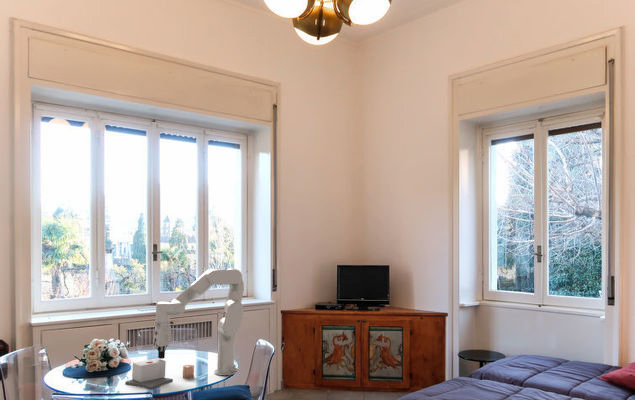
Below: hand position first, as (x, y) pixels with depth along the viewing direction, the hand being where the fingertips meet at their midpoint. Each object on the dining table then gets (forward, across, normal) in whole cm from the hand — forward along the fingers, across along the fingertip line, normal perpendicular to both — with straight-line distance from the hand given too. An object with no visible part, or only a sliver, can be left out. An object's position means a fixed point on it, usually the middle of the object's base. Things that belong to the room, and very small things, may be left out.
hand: (161, 358), depth 287 cm
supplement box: (+5, +2, +1) cm, 6 cm away
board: (+11, -9, 0) cm, 14 cm away
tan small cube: (+11, +10, -11) cm, 19 cm away
